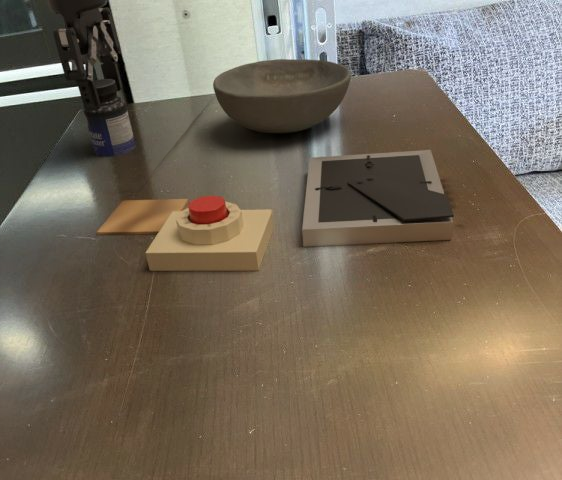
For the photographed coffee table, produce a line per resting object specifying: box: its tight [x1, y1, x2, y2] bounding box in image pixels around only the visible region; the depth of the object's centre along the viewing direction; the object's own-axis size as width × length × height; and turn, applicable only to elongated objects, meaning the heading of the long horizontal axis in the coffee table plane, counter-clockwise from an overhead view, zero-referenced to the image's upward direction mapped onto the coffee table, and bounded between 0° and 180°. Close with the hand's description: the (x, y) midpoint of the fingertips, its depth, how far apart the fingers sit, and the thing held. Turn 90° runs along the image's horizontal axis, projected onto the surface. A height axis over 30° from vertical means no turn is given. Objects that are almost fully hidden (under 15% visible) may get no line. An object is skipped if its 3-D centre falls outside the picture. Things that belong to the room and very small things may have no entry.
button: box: [187, 195, 228, 225], centre depth 67 cm, size 4×4×2 cm
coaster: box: [96, 198, 190, 236], centre depth 77 cm, size 9×9×1 cm
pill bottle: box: [82, 78, 137, 158], centre depth 91 cm, size 6×6×11 cm
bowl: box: [212, 58, 352, 134], centre depth 97 cm, size 21×21×8 cm
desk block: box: [144, 201, 275, 272], centre depth 68 cm, size 12×10×4 cm
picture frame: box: [301, 149, 455, 248], centre depth 74 cm, size 16×3×21 cm
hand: (104, 99), depth 89 cm, fingers open, 8 cm apart
